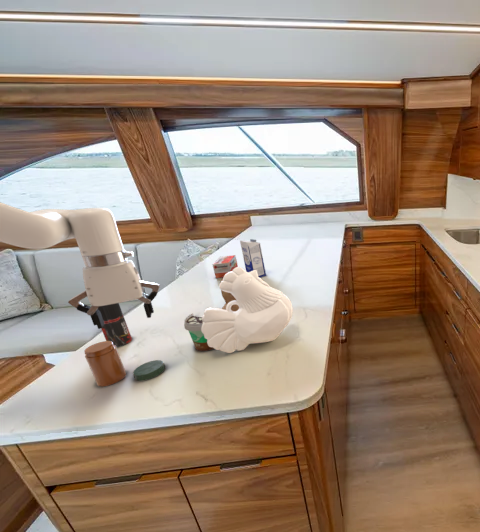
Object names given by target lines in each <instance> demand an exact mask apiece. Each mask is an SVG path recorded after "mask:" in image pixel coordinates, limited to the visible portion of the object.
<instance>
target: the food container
mask: <svg viewBox="0 0 480 532" xmlns="http://www.w3.org/2000/svg"><path fill="white" fill-rule="evenodd" d="M202 324H203V320H202V316H197V315H196V316H195V315H194V313H191V314H189V315H187V316H186V318H185V319H184V322H183V327H184V329H185V330H186V331H188V333H189V336H190V338H191V340H192V341H191V342H192V343H193V345H194V348H195V350H196V351H199V352H208V351H212V350H215V349H214V348H212V347H209V346H208V344H207V339H205V337H204V334H203V333H202V331H201V328H202Z"/></svg>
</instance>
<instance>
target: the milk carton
mask: <svg viewBox="0 0 480 532" xmlns="http://www.w3.org/2000/svg"><path fill="white" fill-rule="evenodd" d="M239 243H240V247H241V253H242V257H243V258H242V259H243V262H244V267H245V271H246V272H251V271H253V270H257V273H258V277H260V278H263V277H266V276H267V273H266V268H265V263H264V258H263V257H264V256H263V252H262V246H261V242H258V241H257V239H253V238H251V239H249V240H245V239H243V240H239Z"/></svg>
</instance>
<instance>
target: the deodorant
mask: <svg viewBox="0 0 480 532" xmlns="http://www.w3.org/2000/svg"><path fill="white" fill-rule="evenodd" d="M97 310H99V311H100V312H101V315H102V318H103V320H104V325H103V327H102V328H101V329H100V330H101V331H102V334H103V337H104V339H105V341H112V342H113V345H115V346H116V348H121V347H123V346H126V345H129V344H130V343H131V342H132V341H133V338H132V335H131V332H130V329H129V327H128V323H127V322H126V319H125V315H124V313H123V311H122V308H121V305H120V303H115V304H110V305H104V306H99V307H98V309H97Z"/></svg>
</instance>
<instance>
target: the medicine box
mask: <svg viewBox="0 0 480 532" xmlns="http://www.w3.org/2000/svg"><path fill="white" fill-rule="evenodd" d="M237 260H238V259H237V256H236V254H234V255H225V256H224V255H223V256H219V257H218V258H217V259H216V260H215V261H214V262H213V263H212V264H211V265H212V268H213V272H214V276H215V279H219V278H223V277H224V275H225V274H226V273H228V272H230V271H233V269H234V268H236V267H239V264H238V261H237Z"/></svg>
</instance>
